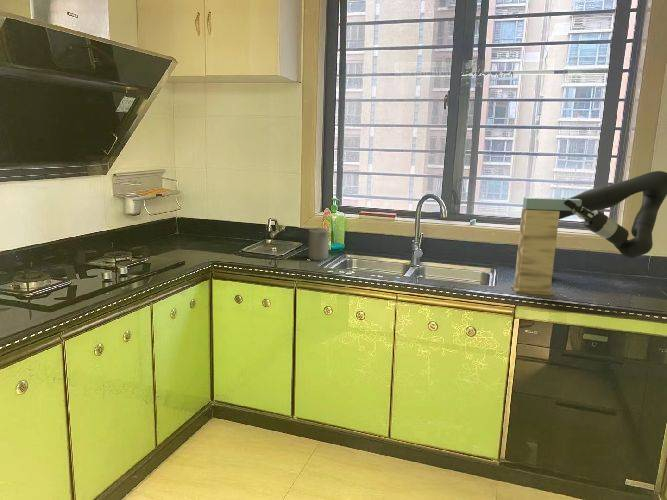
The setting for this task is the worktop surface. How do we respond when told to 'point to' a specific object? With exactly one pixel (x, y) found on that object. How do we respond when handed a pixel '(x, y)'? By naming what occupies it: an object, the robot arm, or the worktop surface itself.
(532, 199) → the slate bar
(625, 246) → the robot arm
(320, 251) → the pillar candle
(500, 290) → the worktop surface
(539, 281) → the oak block
